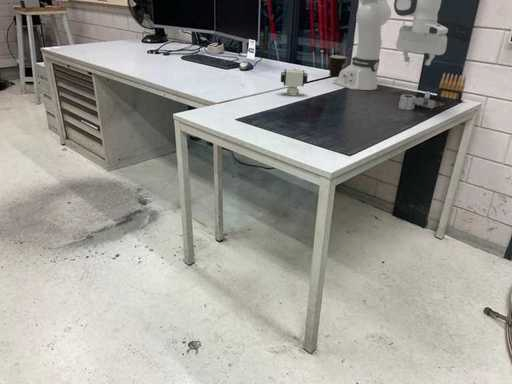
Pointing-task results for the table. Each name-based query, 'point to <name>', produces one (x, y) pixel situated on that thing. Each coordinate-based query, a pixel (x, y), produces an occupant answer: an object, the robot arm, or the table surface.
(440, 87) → the ammunition clip
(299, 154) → the table surface
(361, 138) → the table surface
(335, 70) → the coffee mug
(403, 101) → the hub
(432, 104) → the shaft stand
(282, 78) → the pneumatic valve
